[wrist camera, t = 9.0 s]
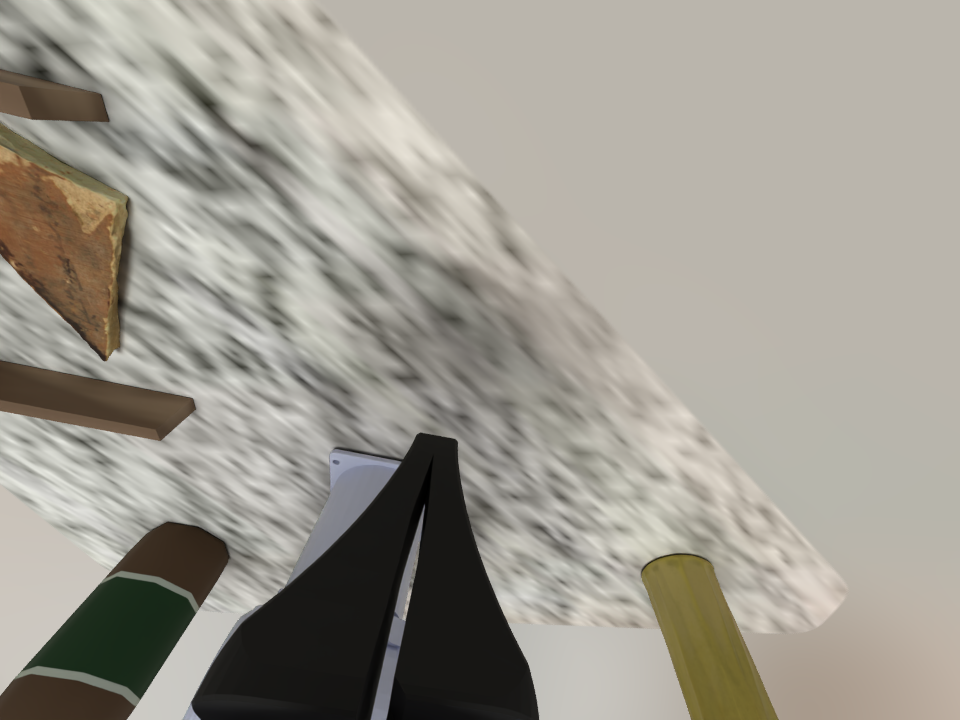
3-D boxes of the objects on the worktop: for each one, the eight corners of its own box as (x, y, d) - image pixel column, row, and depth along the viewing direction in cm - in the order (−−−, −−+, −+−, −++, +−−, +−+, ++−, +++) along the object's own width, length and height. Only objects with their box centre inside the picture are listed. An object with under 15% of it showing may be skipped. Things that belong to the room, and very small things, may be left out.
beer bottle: (223, 573, 37) (-107, 1086, 17) (144, 546, 35) (-333, 1093, 15) (240, 541, 34) (-154, 1148, 14) (154, 509, 32) (-462, 1168, 12)
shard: (127, 349, 23) (100, 365, 21) (-14, 283, 21) (-55, 295, 19) (146, 200, 18) (113, 206, 16) (-38, 93, 16) (-96, 88, 14)
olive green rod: (694, 591, 34) (798, 843, 22) (631, 584, 34) (700, 832, 22) (725, 557, 30) (868, 833, 18) (655, 549, 30) (752, 820, 18)
